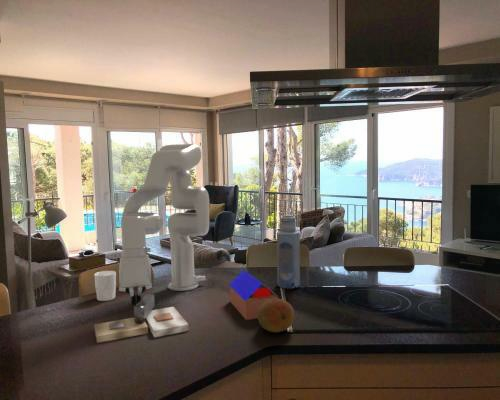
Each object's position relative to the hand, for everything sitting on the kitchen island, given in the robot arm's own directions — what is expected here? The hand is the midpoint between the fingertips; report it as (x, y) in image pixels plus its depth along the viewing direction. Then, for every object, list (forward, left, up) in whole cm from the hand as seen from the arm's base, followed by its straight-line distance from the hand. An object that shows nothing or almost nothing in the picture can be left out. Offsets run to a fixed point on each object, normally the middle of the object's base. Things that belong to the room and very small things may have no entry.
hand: (136, 306), depth 131 cm
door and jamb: (+1, +9, -4) cm, 10 cm away
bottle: (-64, -8, -4) cm, 65 cm away
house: (-39, +10, -5) cm, 40 cm away
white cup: (+7, -28, -4) cm, 29 cm away
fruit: (-36, +30, -4) cm, 47 cm away
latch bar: (-2, +5, -2) cm, 5 cm away
